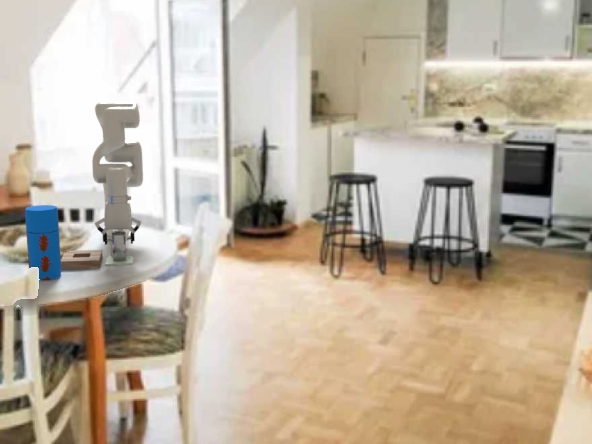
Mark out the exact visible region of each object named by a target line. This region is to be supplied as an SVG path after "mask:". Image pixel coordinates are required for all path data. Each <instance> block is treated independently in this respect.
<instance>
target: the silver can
mask: <svg viewBox="0 0 592 444" xmlns="http://www.w3.org/2000/svg"><path fill="white" fill-rule="evenodd" d="M111 245H112V249H111V250H112V257H113V261H115V262H122V261H126V260H127V257H128V254H127V240H126V232H125V231H113V232H112V240H111Z"/></svg>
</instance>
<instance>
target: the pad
mask: <svg viewBox="0 0 592 444" xmlns="http://www.w3.org/2000/svg"><path fill="white" fill-rule="evenodd" d="M133 264H134V256H132V255H131V256H128V255H127V260H126V261H122V262H115V261H113V256H108V257H106V261H105V266H123V265H124V266H127V265H133Z"/></svg>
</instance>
